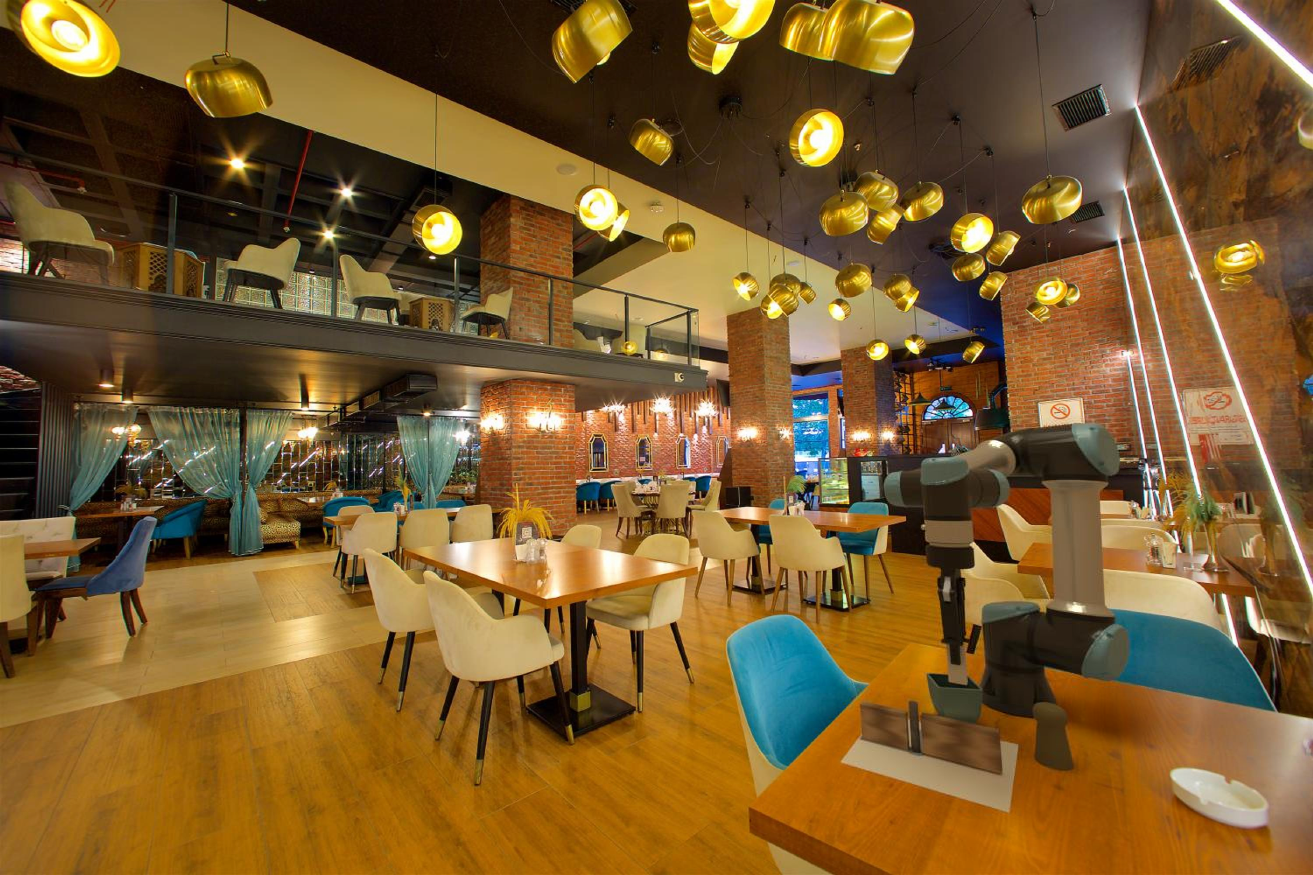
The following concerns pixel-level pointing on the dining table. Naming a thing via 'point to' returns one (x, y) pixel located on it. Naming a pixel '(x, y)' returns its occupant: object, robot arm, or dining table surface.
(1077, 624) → the robot arm
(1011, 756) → the card
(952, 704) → the flower pot
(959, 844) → the dining table surface
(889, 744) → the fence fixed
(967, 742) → the fence panel
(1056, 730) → the cork
